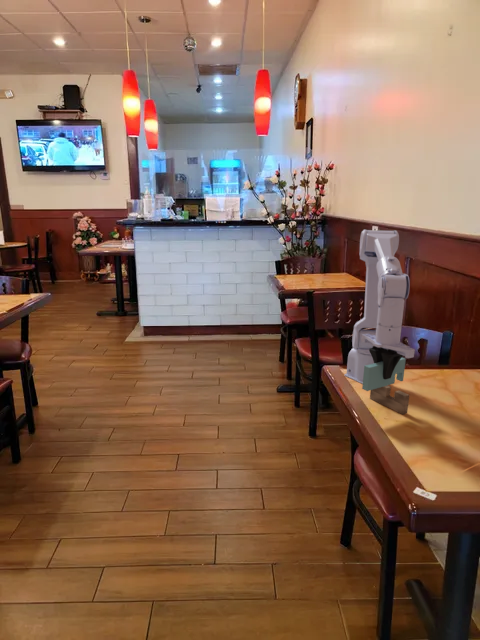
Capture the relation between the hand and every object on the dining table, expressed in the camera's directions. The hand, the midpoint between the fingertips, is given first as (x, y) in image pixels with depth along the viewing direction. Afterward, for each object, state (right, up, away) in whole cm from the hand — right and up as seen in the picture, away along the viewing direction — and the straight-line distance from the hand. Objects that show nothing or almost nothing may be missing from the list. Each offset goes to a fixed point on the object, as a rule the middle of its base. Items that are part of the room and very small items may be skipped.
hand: (383, 376), depth 114 cm
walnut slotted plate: (+3, -8, +6) cm, 10 cm away
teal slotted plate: (0, -2, +1) cm, 2 cm away
